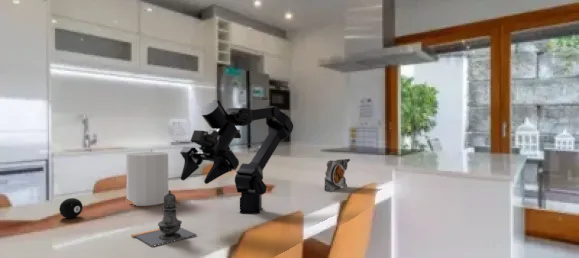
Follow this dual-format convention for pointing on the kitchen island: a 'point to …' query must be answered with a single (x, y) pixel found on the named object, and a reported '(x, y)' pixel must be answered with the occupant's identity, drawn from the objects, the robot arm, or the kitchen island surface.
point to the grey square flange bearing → (335, 174)
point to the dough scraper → (154, 235)
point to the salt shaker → (169, 219)
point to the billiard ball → (71, 208)
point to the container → (147, 177)
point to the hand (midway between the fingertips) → (193, 181)
